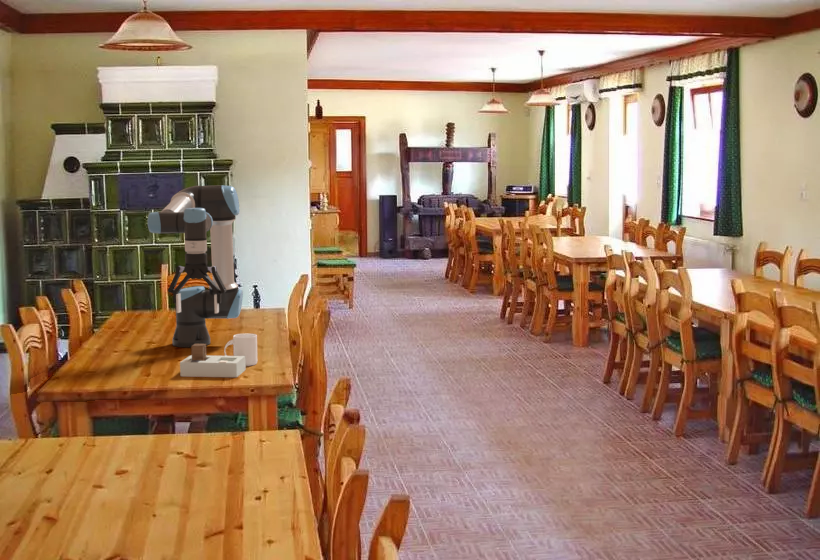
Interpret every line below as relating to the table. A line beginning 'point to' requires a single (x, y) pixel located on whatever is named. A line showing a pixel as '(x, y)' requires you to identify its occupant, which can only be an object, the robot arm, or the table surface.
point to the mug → (245, 347)
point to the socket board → (213, 366)
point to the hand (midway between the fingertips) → (197, 312)
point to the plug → (199, 352)
